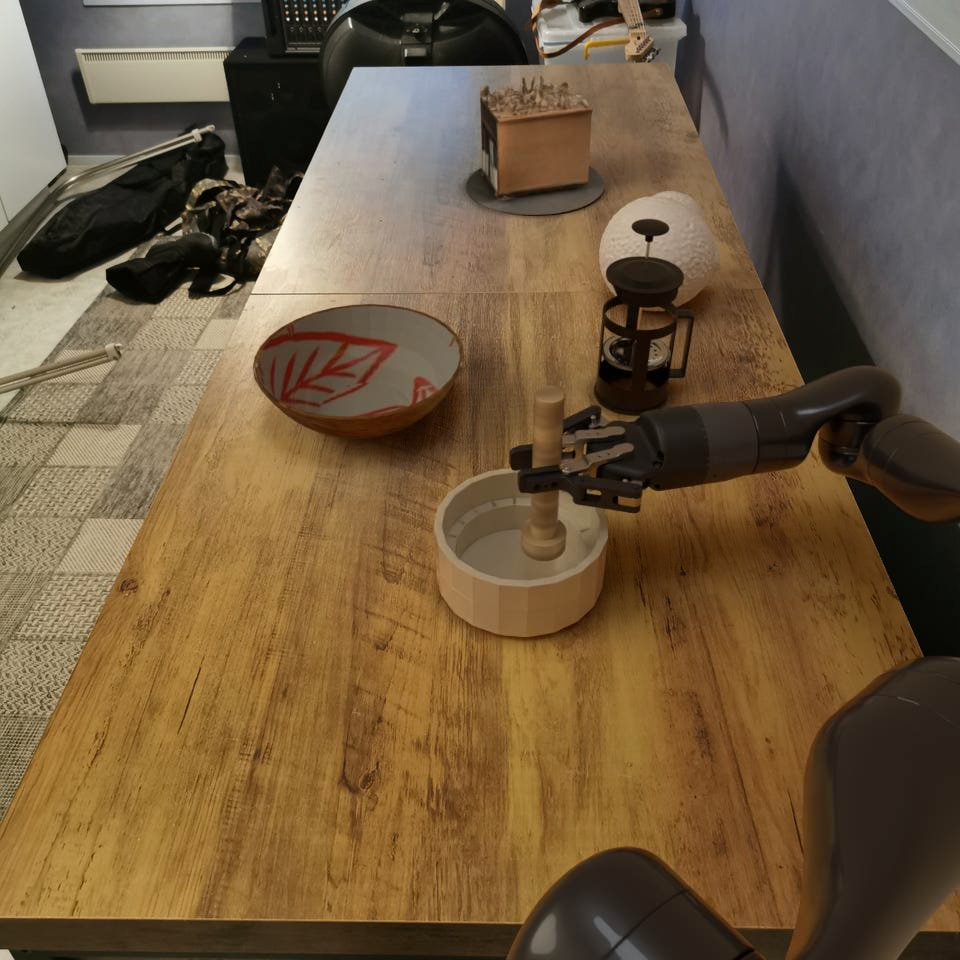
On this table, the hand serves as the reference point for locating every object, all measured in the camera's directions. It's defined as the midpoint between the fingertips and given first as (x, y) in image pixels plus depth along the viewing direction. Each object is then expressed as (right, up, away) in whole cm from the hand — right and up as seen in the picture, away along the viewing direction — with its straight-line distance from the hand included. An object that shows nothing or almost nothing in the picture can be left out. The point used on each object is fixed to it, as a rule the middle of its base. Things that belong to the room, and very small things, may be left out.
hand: (515, 470), depth 83 cm
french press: (+17, +10, +35) cm, 40 cm away
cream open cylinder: (+1, -11, +10) cm, 15 cm away
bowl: (-18, +8, +33) cm, 38 cm away
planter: (+7, +52, +85) cm, 100 cm away
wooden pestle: (+3, -7, +7) cm, 10 cm away
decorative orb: (+22, +25, +53) cm, 62 cm away
